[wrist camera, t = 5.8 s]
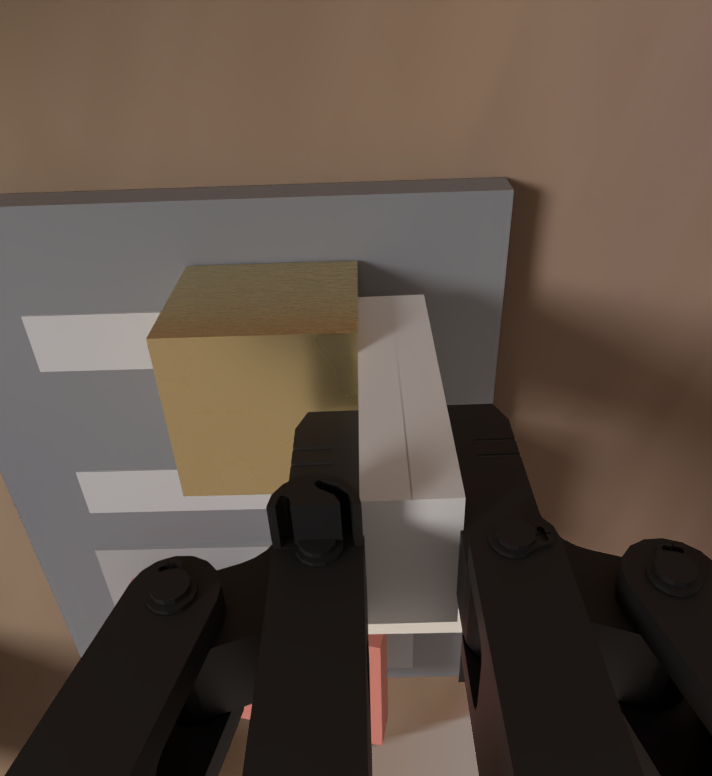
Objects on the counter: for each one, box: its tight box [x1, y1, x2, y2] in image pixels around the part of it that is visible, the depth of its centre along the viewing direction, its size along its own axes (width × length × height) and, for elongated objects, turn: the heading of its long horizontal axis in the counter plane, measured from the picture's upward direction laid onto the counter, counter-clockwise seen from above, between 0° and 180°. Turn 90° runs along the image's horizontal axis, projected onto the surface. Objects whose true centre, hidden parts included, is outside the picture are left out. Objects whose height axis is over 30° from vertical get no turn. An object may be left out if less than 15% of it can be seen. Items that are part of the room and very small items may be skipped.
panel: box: [0, 177, 514, 677], centre depth 19 cm, size 18×14×2 cm
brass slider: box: [146, 261, 359, 496], centre depth 15 cm, size 4×4×4 cm
